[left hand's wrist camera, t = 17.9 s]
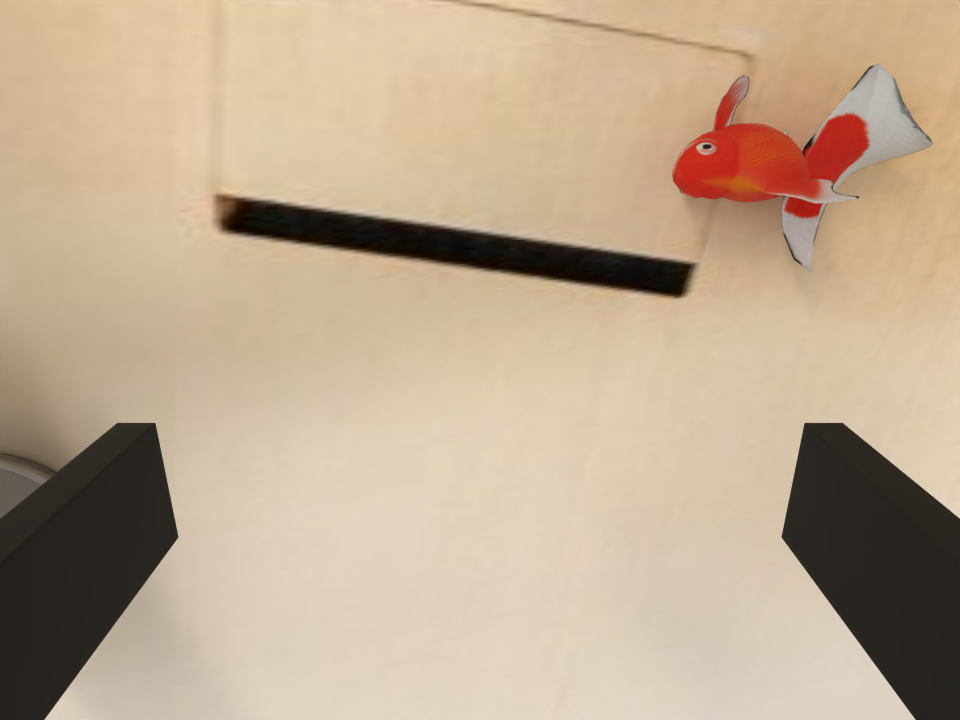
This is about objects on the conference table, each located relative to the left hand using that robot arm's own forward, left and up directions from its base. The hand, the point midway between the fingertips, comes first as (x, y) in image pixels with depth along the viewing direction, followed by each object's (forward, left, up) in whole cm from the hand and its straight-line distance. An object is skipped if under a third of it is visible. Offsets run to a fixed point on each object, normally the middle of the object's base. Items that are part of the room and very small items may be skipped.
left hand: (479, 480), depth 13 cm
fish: (+17, -9, -31) cm, 36 cm away
